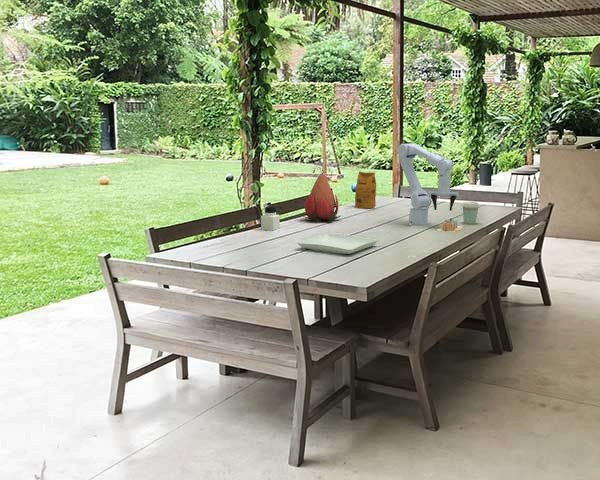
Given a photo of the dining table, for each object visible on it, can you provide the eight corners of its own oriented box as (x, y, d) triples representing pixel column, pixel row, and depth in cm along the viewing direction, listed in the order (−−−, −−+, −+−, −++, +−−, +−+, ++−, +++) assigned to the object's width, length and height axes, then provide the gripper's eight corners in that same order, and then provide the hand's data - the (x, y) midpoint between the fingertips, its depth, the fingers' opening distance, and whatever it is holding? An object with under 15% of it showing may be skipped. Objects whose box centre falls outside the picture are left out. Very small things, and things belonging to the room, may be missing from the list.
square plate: (350, 257, 293) (351, 248, 292) (295, 250, 307) (295, 241, 306) (379, 246, 315) (379, 238, 314) (326, 240, 329) (326, 232, 328)
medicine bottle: (279, 228, 357) (279, 205, 355) (273, 230, 351) (273, 207, 348) (267, 227, 360) (267, 204, 358) (260, 229, 354) (260, 206, 351)
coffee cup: (478, 227, 363) (479, 204, 361) (461, 226, 365) (462, 203, 362) (477, 224, 371) (478, 202, 369) (461, 223, 373) (462, 201, 370)
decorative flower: (321, 225, 367) (321, 168, 362) (292, 219, 384) (292, 164, 379) (350, 220, 382) (351, 165, 376) (321, 215, 399) (322, 162, 393)
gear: (443, 228, 354) (443, 219, 354) (445, 225, 360) (445, 217, 359) (456, 228, 352) (456, 220, 351) (458, 226, 358) (458, 218, 357)
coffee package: (360, 205, 436) (360, 170, 431) (377, 207, 429) (378, 171, 425) (352, 207, 427) (352, 171, 423) (370, 209, 421) (371, 173, 416)
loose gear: (441, 230, 348) (442, 223, 347) (443, 228, 353) (444, 221, 352) (453, 231, 346) (454, 224, 345) (455, 229, 351) (455, 222, 350)
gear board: (435, 232, 348) (436, 223, 347) (441, 226, 364) (442, 218, 363) (458, 234, 344) (458, 225, 343) (463, 227, 360) (463, 219, 359)
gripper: (428, 183, 351) (427, 210, 353) (457, 184, 345) (456, 212, 348) (430, 182, 357) (429, 208, 360) (459, 183, 352) (458, 210, 355)
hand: (443, 210), depth 354 cm, fingers open, 7 cm apart
